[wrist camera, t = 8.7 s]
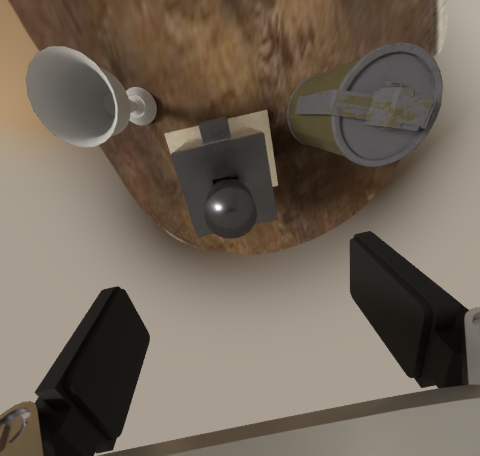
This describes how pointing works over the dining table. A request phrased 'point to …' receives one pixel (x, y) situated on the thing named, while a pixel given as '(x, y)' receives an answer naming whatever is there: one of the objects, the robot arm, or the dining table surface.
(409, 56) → the canister
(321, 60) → the dining table surface
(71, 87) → the chalice
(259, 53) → the dining table surface
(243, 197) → the plunger
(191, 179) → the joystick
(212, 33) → the dining table surface
